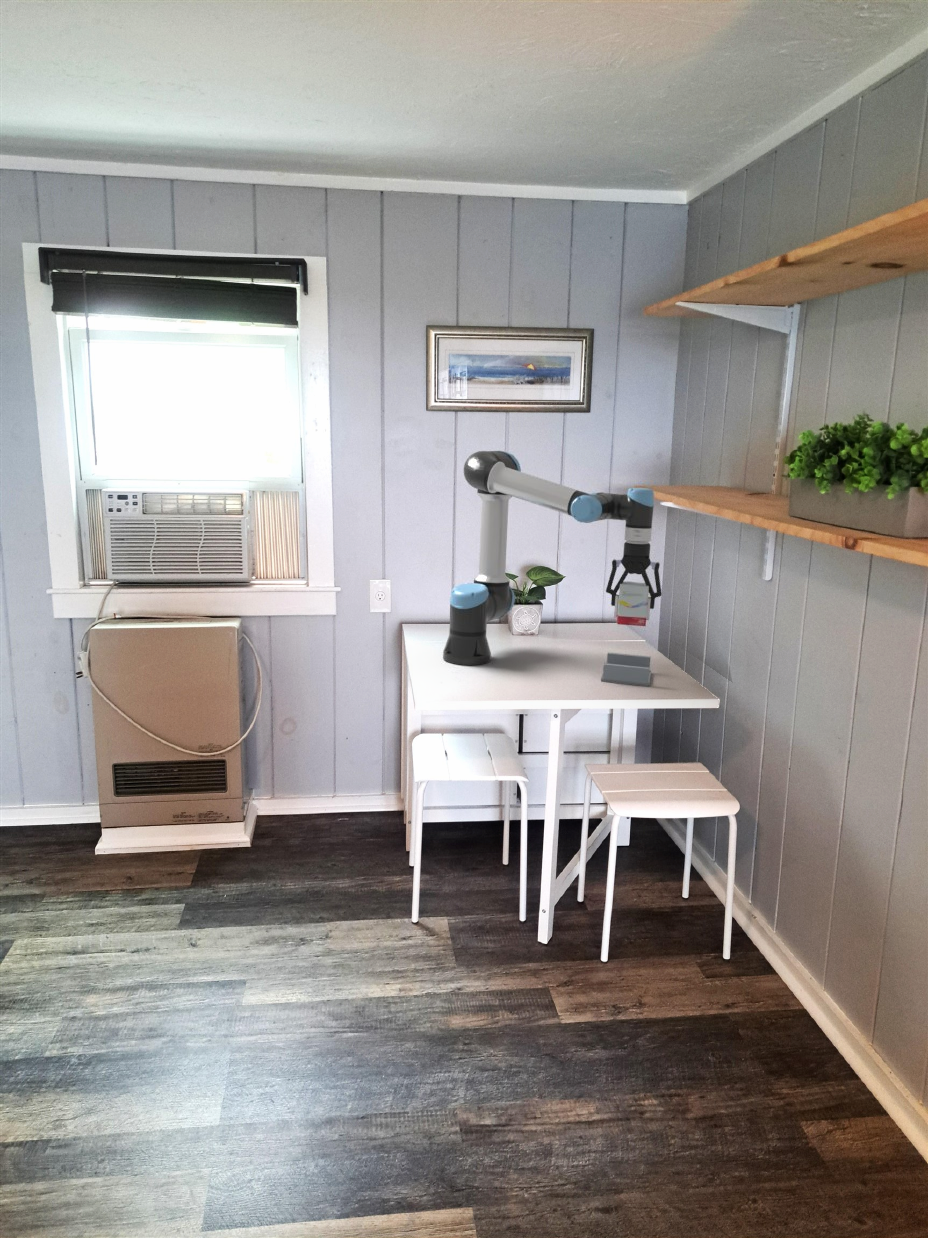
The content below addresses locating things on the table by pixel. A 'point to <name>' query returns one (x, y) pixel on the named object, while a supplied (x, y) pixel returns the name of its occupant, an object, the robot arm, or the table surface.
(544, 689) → the table surface
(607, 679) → the channel holder
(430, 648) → the table surface
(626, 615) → the ink box
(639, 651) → the table surface
